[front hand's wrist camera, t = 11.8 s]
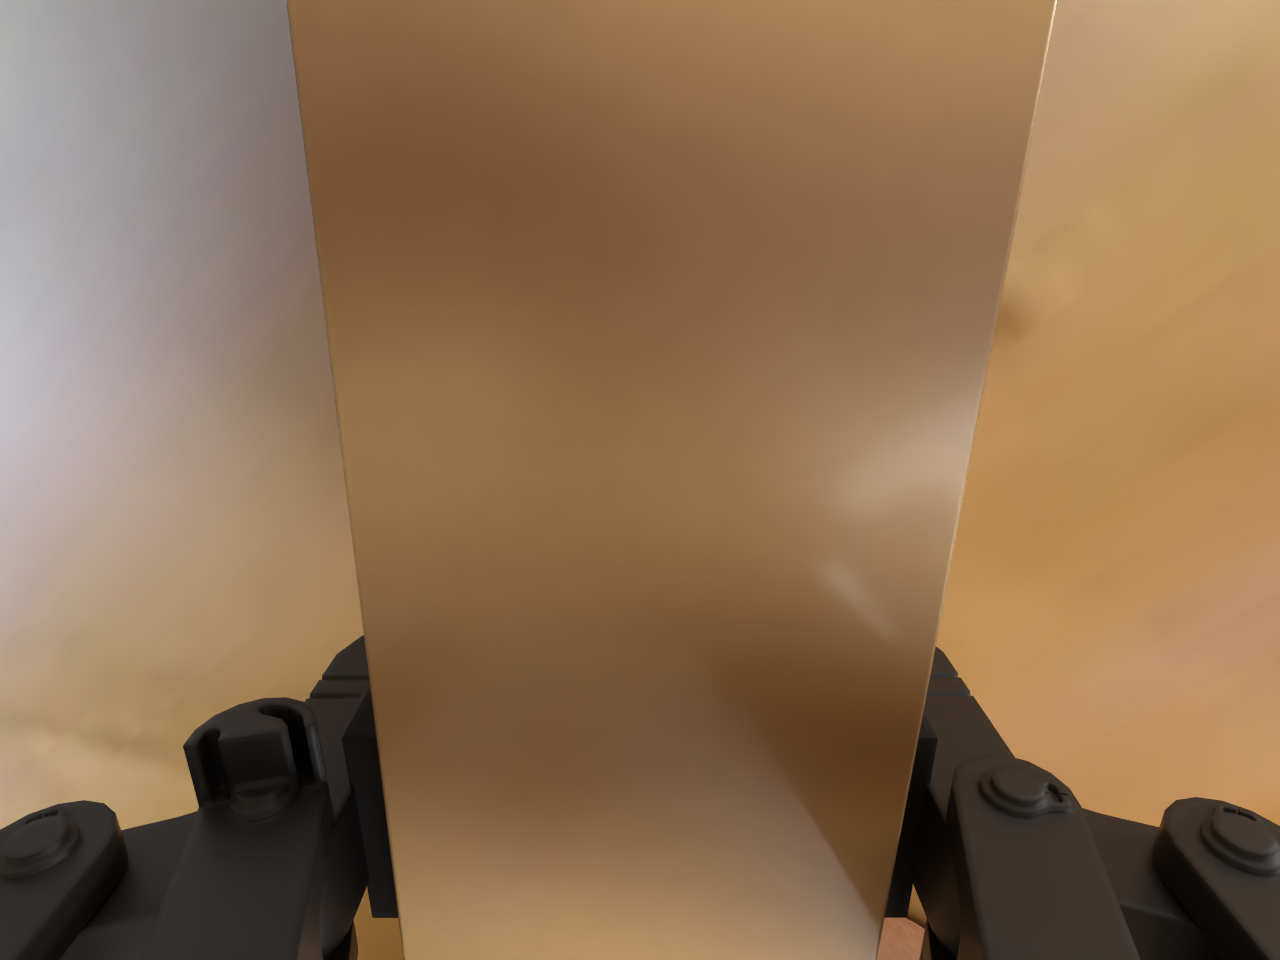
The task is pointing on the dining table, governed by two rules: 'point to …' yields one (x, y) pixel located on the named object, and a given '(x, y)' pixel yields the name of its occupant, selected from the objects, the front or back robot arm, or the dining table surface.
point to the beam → (657, 441)
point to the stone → (900, 940)
